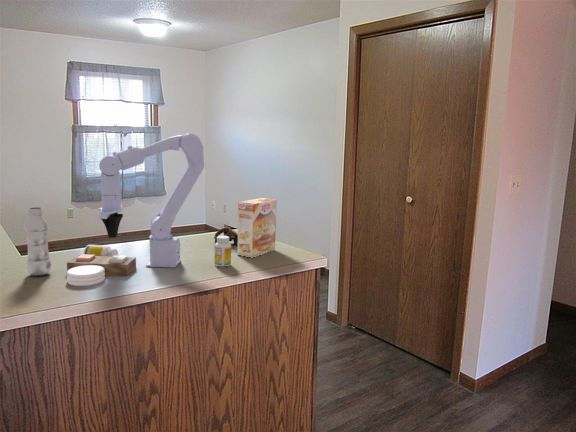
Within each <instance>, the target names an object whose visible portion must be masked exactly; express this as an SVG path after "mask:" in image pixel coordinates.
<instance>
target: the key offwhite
mask: <svg viewBox="0 0 576 432" xmlns="http://www.w3.org/2000/svg"><path fill="white" fill-rule="evenodd" d="M127 257H128V256H127V255H118V256H115V255H114V256H113V257H112V258H110V259H109V262H110V263H124V262H126V261H127Z"/></svg>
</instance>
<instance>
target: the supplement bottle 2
mask: <svg viewBox="0 0 576 432" xmlns="http://www.w3.org/2000/svg"><path fill="white" fill-rule="evenodd" d="M213 263H214V266H215V265H216V266H215V267H217V266H228V267H230V266H231V265H232V264H231V263H232V244H231V243H230V241H229V237H228V236H224V235H219V236H218V237H217V243H216V244H215V243H214V262H213ZM229 265H230V266H229Z"/></svg>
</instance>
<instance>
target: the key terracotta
mask: <svg viewBox="0 0 576 432" xmlns="http://www.w3.org/2000/svg"><path fill="white" fill-rule="evenodd" d="M78 256H79V257H77V256H76V257H77V258H76V257H75V258H76V260H77V261H78V262H91V261H93V260H94V259H95V255H87V254H84V253H81V255H78Z"/></svg>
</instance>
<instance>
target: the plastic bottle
mask: <svg viewBox="0 0 576 432" xmlns="http://www.w3.org/2000/svg"><path fill="white" fill-rule="evenodd" d="M27 209H28V210H27V211H28V212H27V214H28V218H27V219H26V220H25V222H24V223H23V230H24V235H25V238H26V245H27V260H26V270H27V273H28V274H29V275H30V276H44V275H48V274H50V272H51V271H52V261H51V257H50V252H49V244H48V243H49V239H48V238H49V226H50V225H49V223H48V220H46V218H45V217H44V216H43V215H44V212H43V207H39V206H38V207H37V206H35V207H29V208H27Z"/></svg>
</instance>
